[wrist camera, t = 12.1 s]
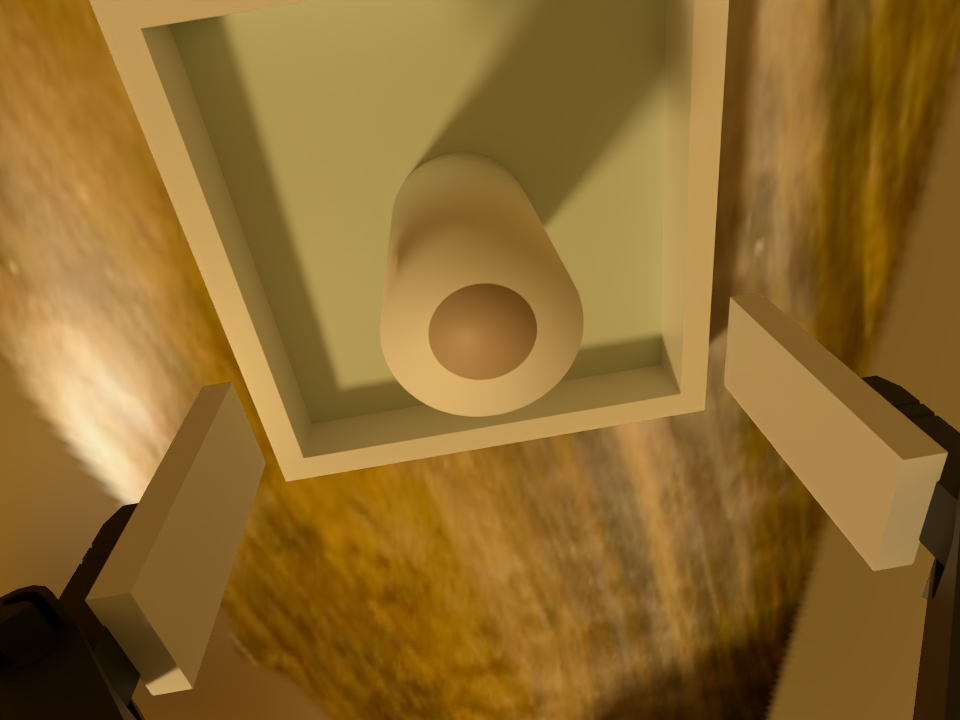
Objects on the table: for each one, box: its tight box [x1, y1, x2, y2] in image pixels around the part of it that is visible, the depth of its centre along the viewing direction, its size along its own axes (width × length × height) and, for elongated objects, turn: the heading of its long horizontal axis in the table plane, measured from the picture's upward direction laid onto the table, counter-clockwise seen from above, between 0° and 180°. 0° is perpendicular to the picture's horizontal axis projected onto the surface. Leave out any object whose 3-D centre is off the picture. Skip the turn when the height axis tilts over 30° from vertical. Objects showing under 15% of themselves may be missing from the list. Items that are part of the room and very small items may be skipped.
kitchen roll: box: [380, 152, 584, 417], centre depth 22 cm, size 6×6×10 cm
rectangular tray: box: [89, 0, 729, 482], centre depth 26 cm, size 20×20×4 cm
